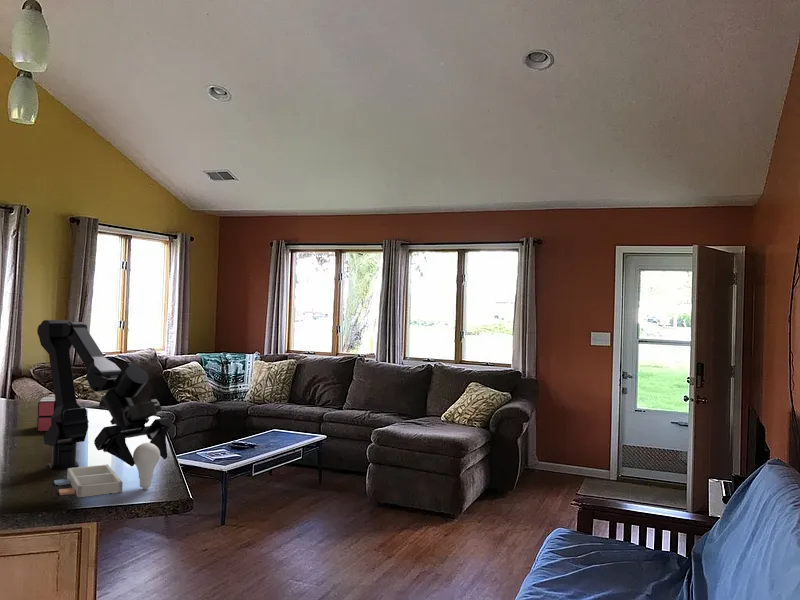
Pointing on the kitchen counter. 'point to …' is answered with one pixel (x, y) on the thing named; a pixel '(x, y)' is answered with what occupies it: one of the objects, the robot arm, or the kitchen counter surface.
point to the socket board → (90, 481)
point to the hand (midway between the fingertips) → (150, 461)
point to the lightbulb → (146, 462)
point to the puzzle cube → (45, 413)
